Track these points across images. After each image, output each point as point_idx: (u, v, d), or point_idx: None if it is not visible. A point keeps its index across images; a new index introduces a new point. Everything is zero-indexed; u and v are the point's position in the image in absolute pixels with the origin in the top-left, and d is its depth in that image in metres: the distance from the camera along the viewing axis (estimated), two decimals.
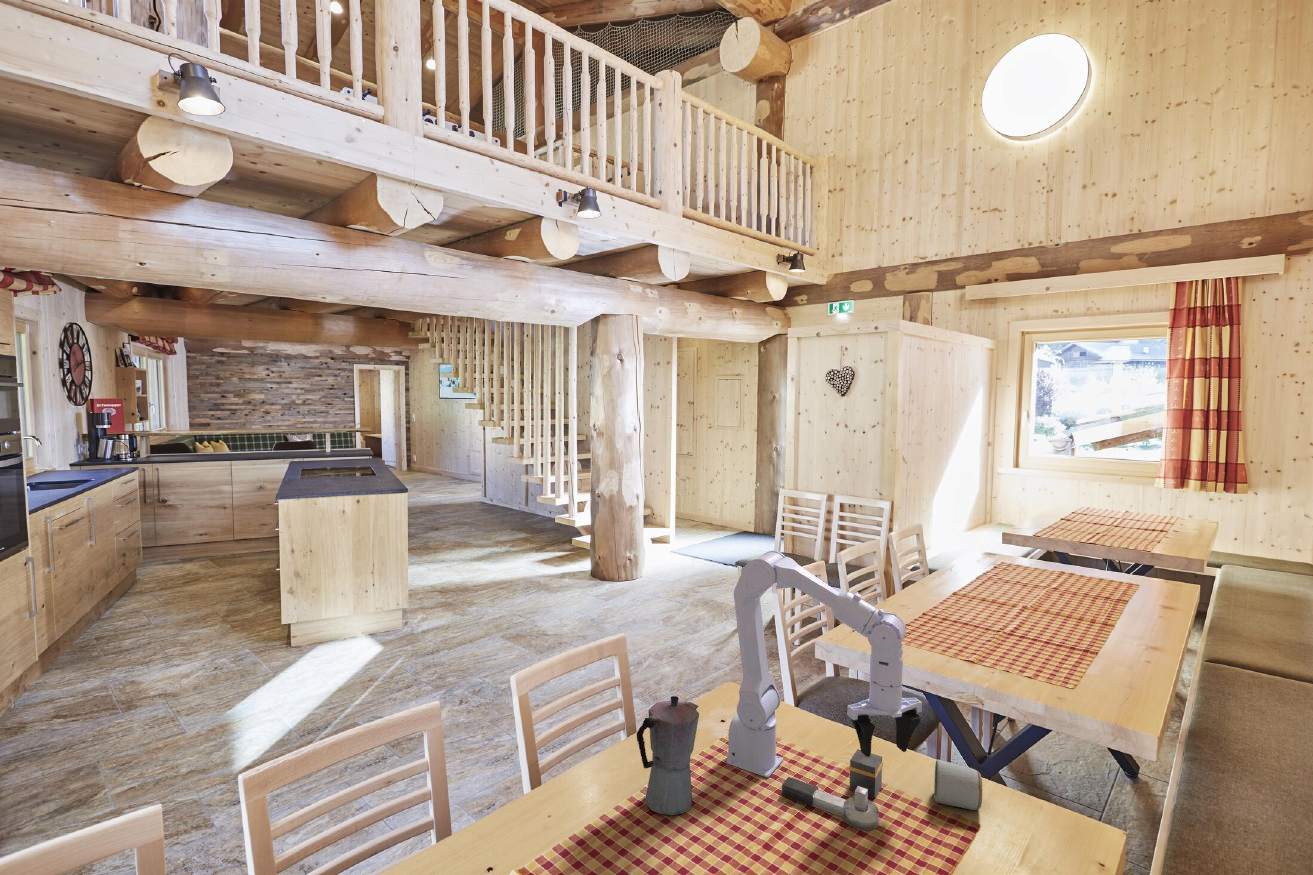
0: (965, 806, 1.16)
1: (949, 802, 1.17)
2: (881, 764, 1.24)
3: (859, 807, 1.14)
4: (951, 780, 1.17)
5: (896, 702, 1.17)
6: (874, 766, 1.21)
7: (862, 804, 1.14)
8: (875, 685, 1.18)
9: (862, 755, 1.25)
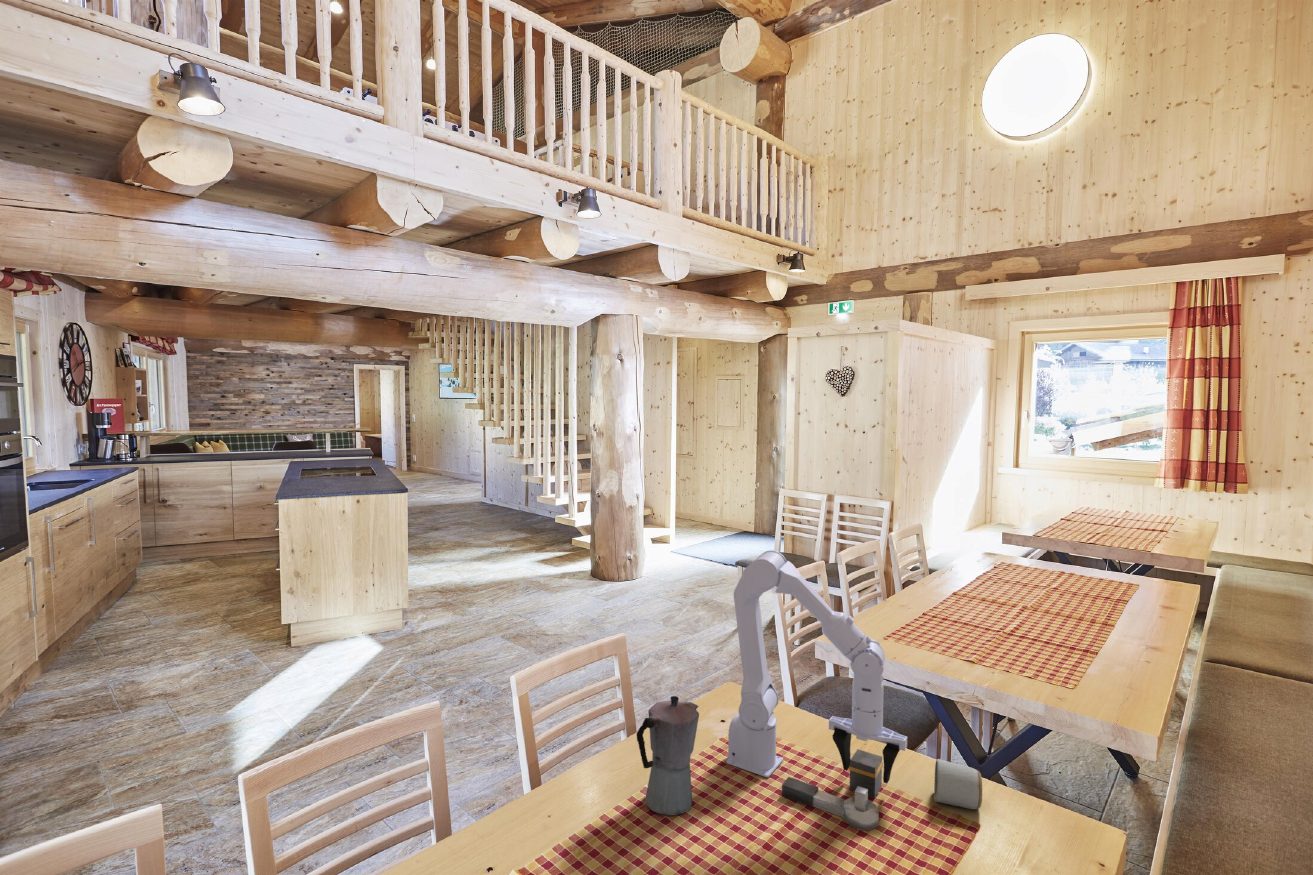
0: (965, 805, 1.17)
1: (949, 801, 1.17)
2: (881, 764, 1.24)
3: (859, 807, 1.14)
4: (951, 779, 1.17)
5: (865, 727, 1.21)
6: (874, 766, 1.21)
7: (862, 804, 1.14)
8: (852, 705, 1.24)
9: (862, 755, 1.25)
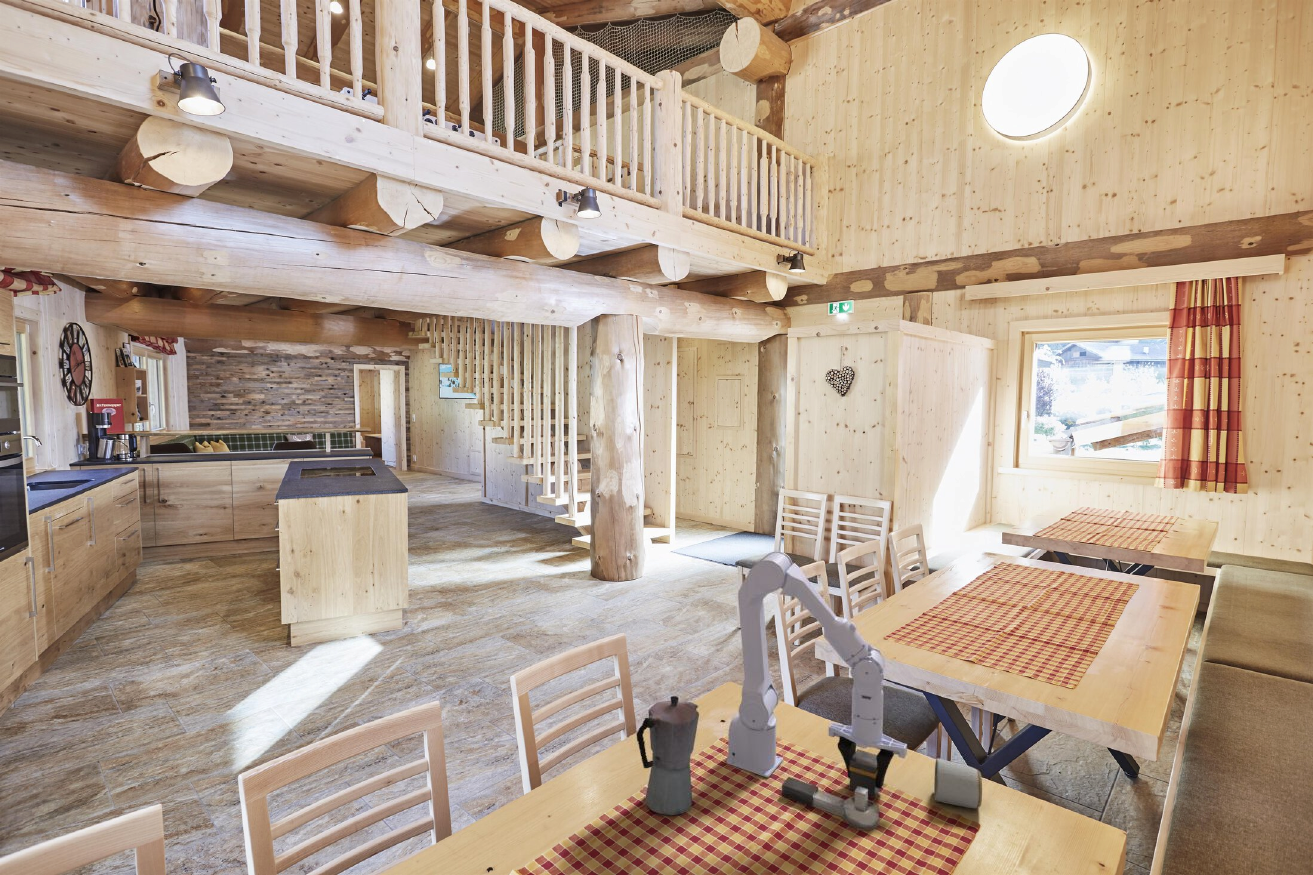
0: (965, 805, 1.17)
1: (949, 801, 1.18)
2: None
3: (859, 807, 1.14)
4: (951, 779, 1.17)
5: (864, 734, 1.21)
6: (874, 766, 1.21)
7: (862, 804, 1.14)
8: None
9: (862, 755, 1.25)
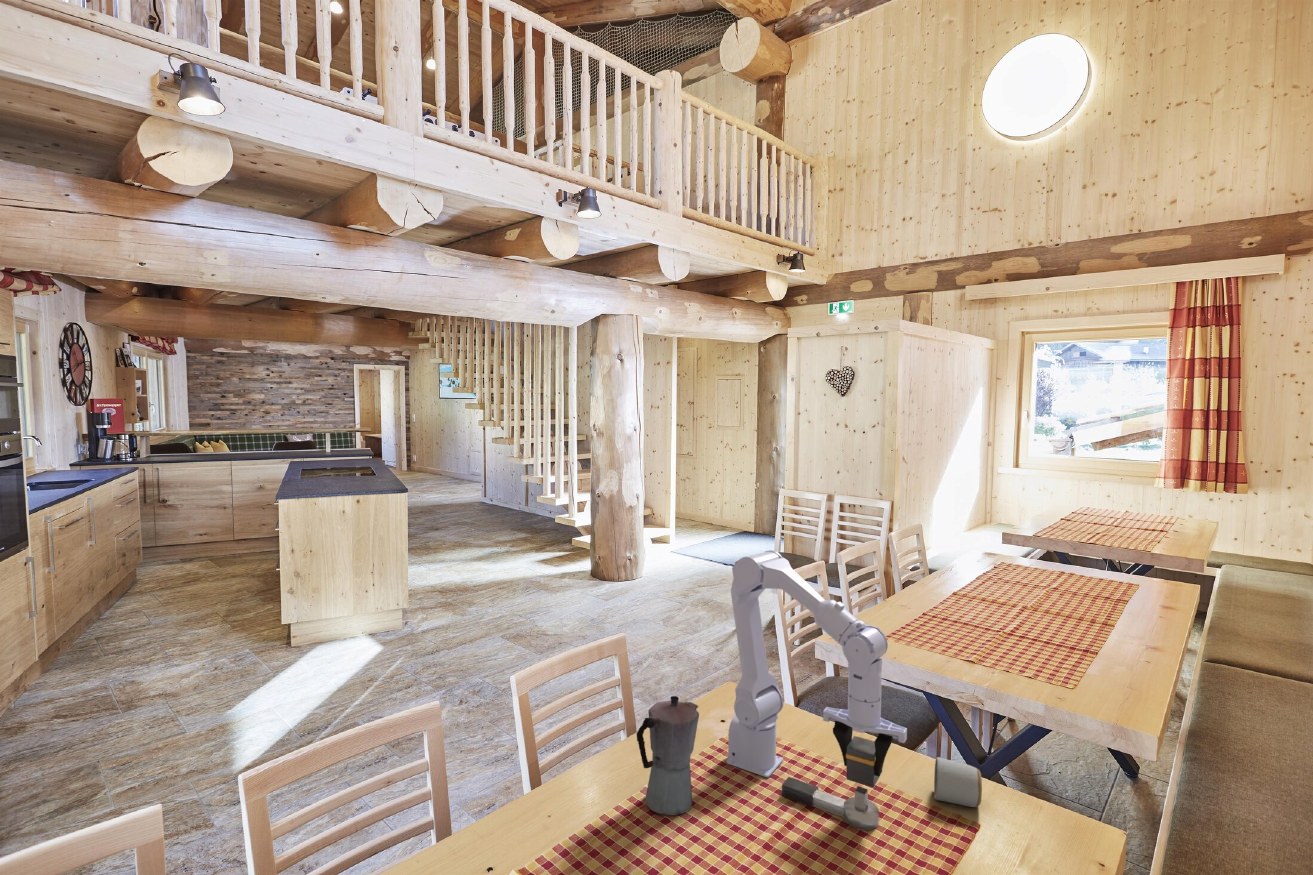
0: (965, 803, 1.17)
1: (949, 799, 1.18)
2: None
3: (859, 807, 1.14)
4: (951, 777, 1.18)
5: (862, 718, 1.13)
6: (872, 753, 1.13)
7: (862, 804, 1.14)
8: None
9: (859, 742, 1.17)
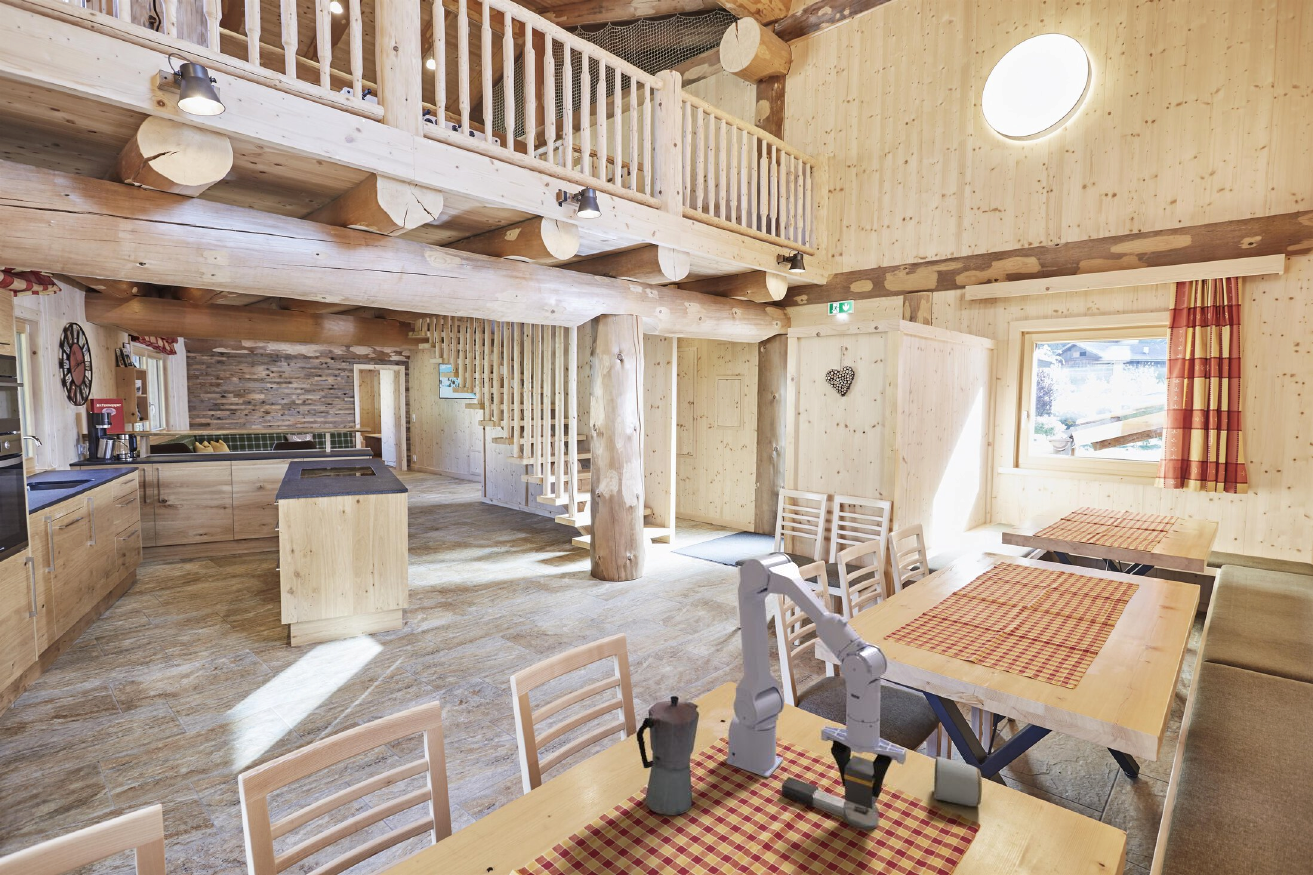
0: (964, 803, 1.17)
1: (949, 799, 1.18)
2: None
3: (859, 807, 1.14)
4: (951, 777, 1.18)
5: (860, 738, 1.11)
6: (871, 774, 1.12)
7: None
8: (846, 714, 1.15)
9: (858, 762, 1.16)
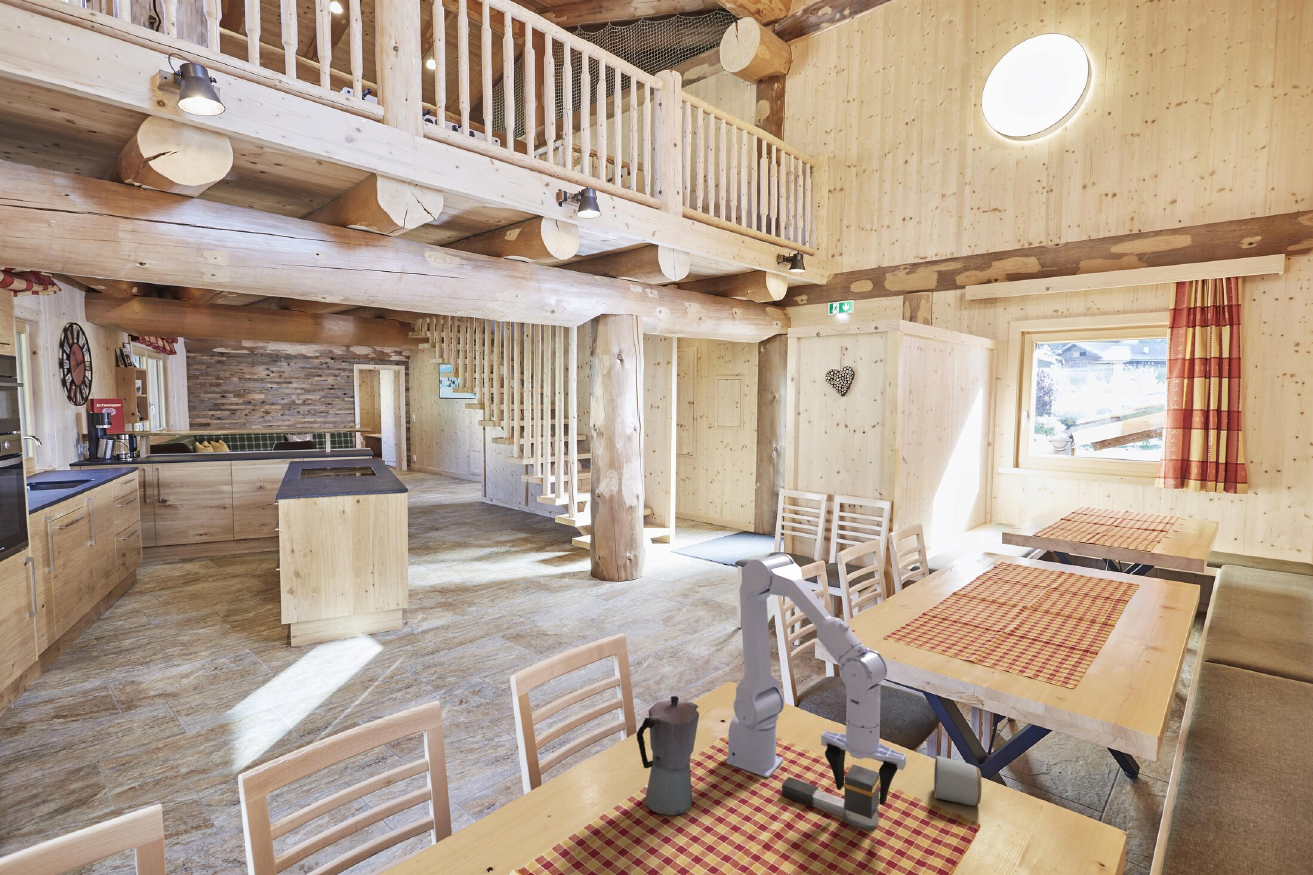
0: (964, 801, 1.18)
1: (949, 798, 1.19)
2: (878, 781, 1.15)
3: None
4: (950, 776, 1.18)
5: (860, 744, 1.12)
6: (871, 783, 1.12)
7: None
8: (846, 719, 1.15)
9: (858, 771, 1.15)
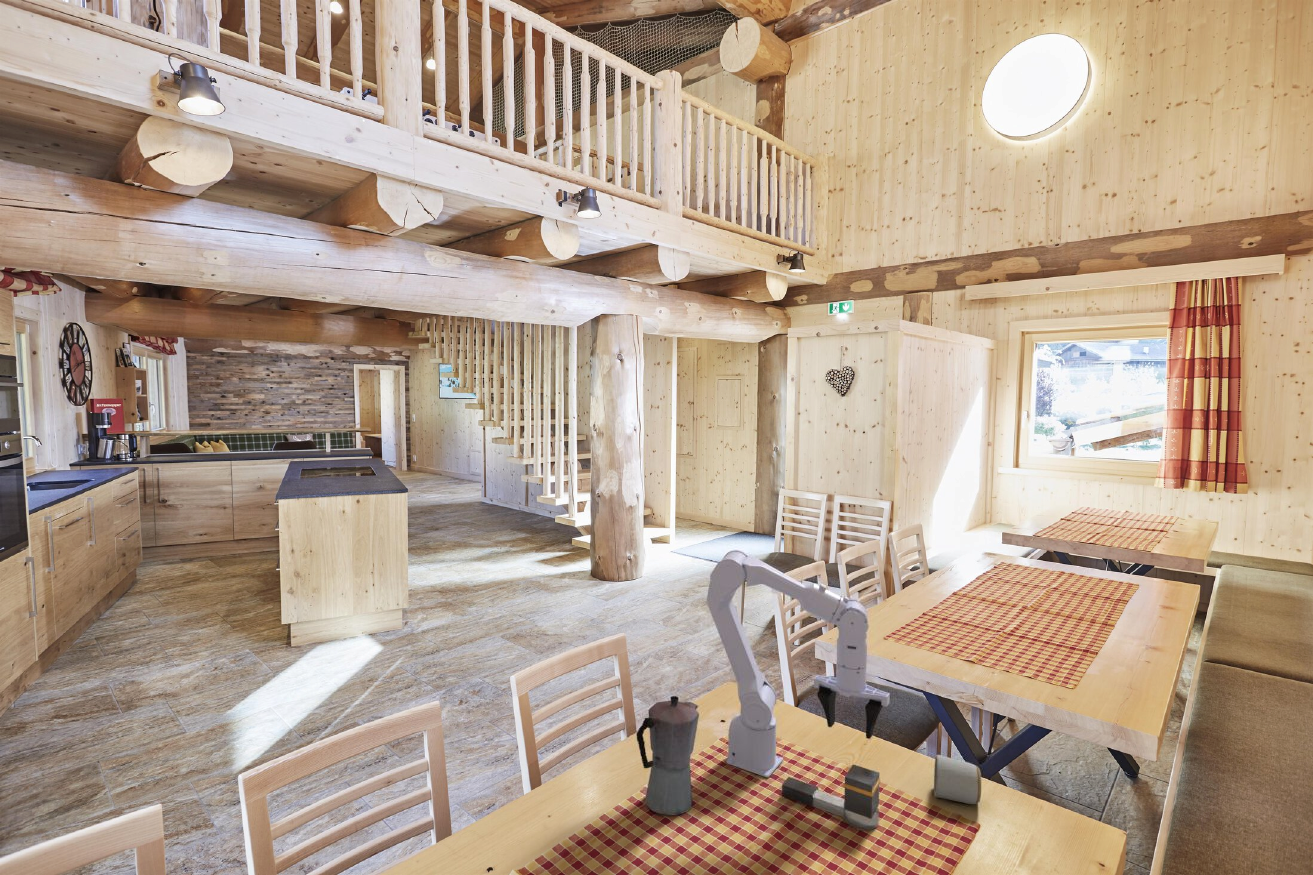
0: (964, 800, 1.18)
1: (949, 796, 1.19)
2: (878, 781, 1.15)
3: None
4: (950, 775, 1.19)
5: (848, 684, 1.24)
6: (871, 783, 1.12)
7: None
8: (836, 663, 1.27)
9: (858, 771, 1.15)
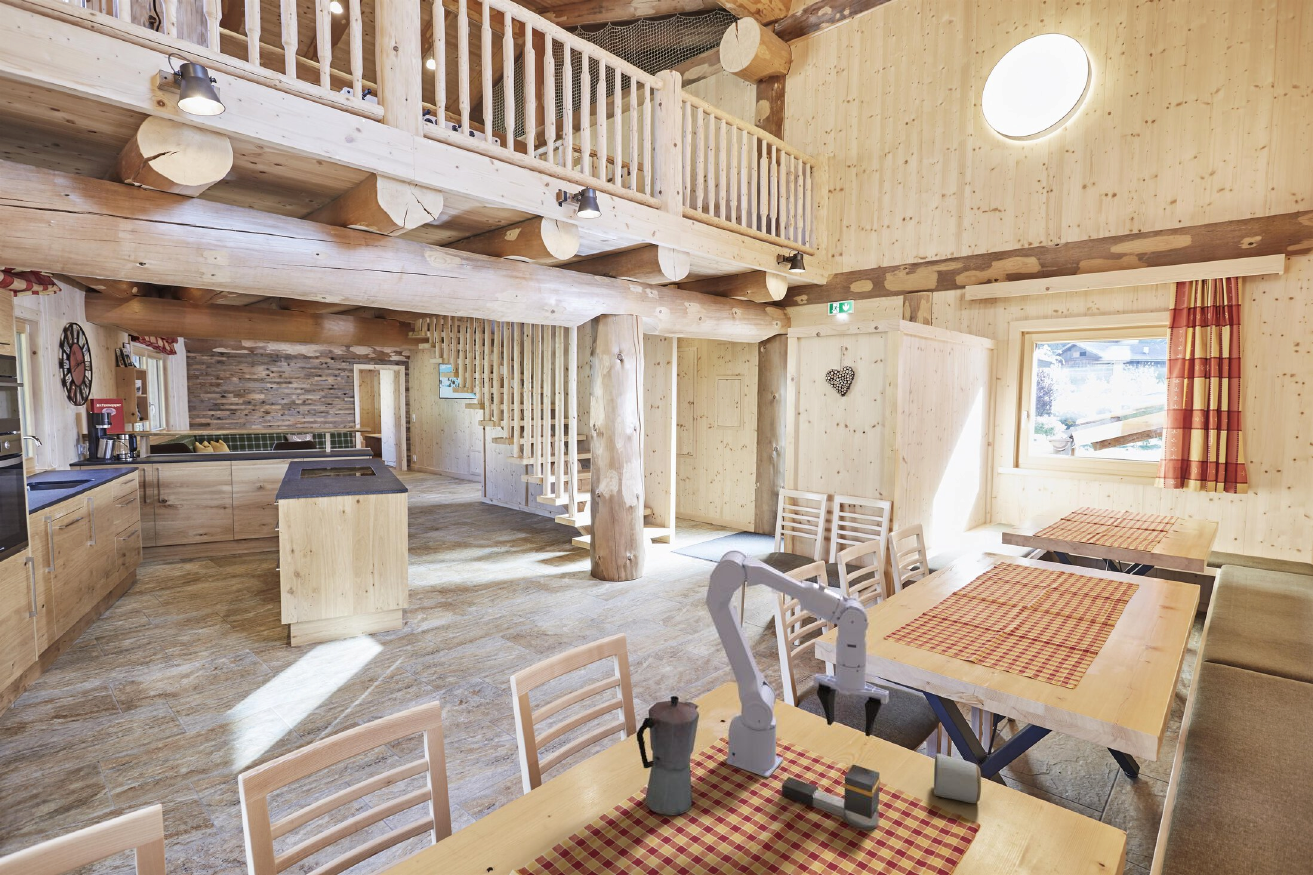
0: (964, 799, 1.19)
1: (949, 795, 1.19)
2: (878, 781, 1.15)
3: None
4: (950, 773, 1.19)
5: (848, 682, 1.25)
6: (871, 783, 1.12)
7: None
8: None
9: (858, 771, 1.15)
